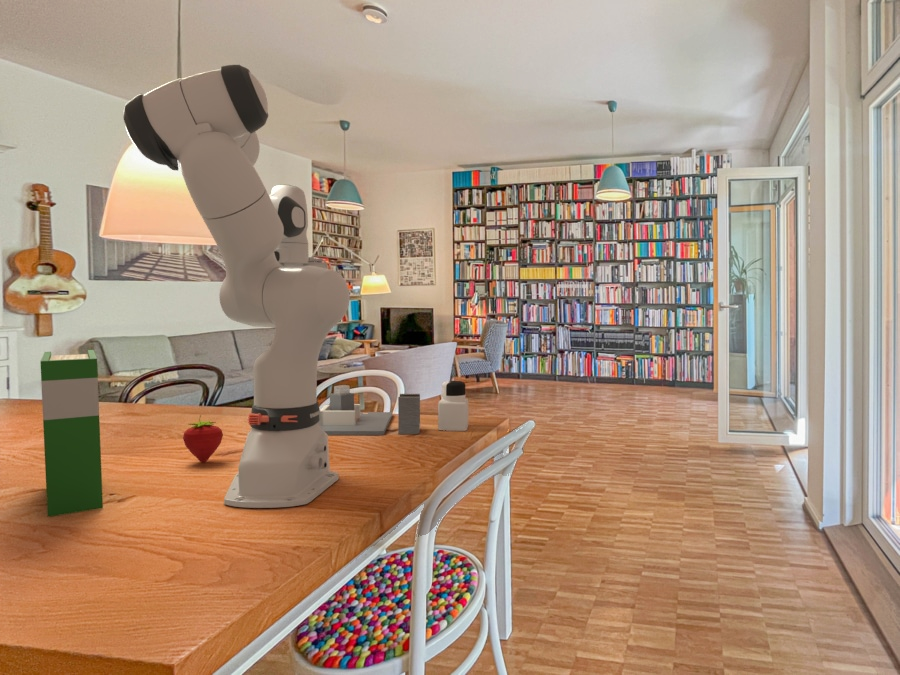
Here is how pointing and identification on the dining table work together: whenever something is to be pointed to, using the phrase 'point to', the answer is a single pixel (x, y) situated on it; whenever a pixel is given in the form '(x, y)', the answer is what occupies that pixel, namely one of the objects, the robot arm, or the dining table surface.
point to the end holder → (353, 421)
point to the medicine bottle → (453, 407)
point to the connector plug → (342, 399)
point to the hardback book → (71, 433)
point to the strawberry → (202, 439)
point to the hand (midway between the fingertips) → (290, 314)
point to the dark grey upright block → (409, 414)
